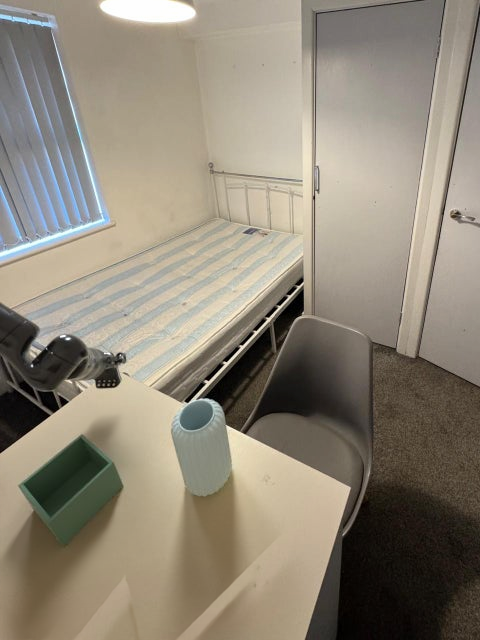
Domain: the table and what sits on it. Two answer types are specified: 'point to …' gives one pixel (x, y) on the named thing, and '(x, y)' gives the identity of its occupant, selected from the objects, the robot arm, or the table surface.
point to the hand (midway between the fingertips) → (103, 365)
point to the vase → (202, 446)
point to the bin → (72, 488)
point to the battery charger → (108, 377)
